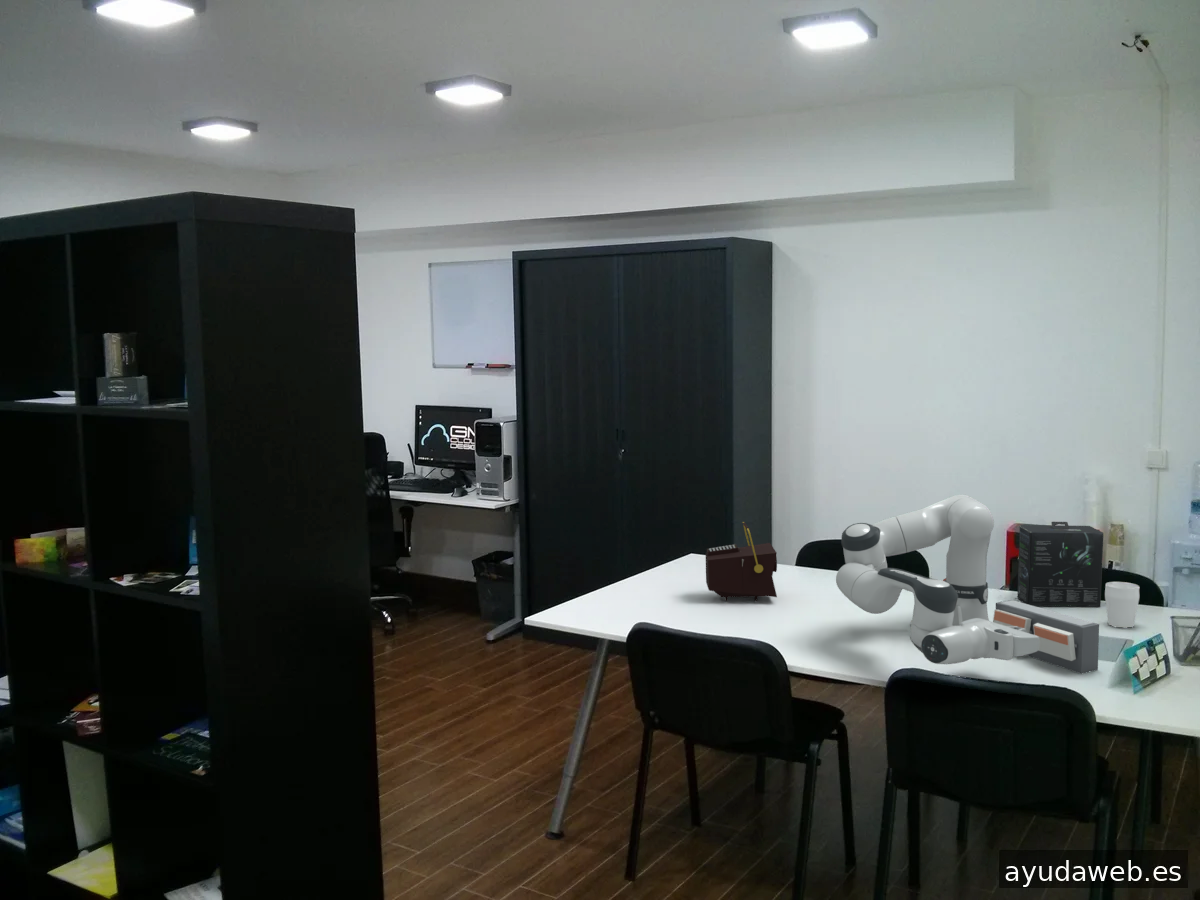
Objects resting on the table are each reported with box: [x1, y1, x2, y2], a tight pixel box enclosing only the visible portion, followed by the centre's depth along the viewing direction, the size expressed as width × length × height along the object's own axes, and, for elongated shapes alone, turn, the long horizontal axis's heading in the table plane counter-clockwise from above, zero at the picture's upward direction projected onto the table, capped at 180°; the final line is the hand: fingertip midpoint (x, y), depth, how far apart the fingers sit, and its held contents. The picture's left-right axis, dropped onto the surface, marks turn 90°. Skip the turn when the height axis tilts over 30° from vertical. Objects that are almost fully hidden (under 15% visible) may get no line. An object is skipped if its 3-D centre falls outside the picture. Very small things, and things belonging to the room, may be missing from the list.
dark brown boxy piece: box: [705, 521, 778, 602], centre depth 339 cm, size 16×23×25 cm
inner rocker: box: [992, 609, 1032, 634], centre depth 276 cm, size 3×12×7 cm, turn 26°
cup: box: [1104, 581, 1140, 629], centre depth 298 cm, size 9×9×12 cm
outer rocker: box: [1033, 623, 1077, 661], centre depth 264 cm, size 3×12×7 cm, turn 26°
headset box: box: [1017, 521, 1104, 608], centre depth 324 cm, size 22×12×26 cm, turn 84°
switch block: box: [995, 599, 1100, 675], centre depth 274 cm, size 12×28×12 cm, turn 26°
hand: (1021, 630), depth 258 cm, fingers closed
